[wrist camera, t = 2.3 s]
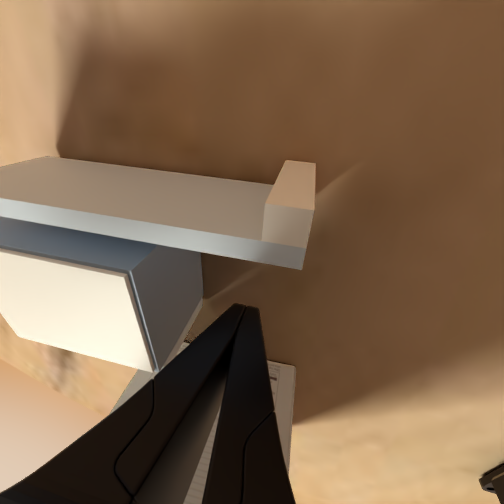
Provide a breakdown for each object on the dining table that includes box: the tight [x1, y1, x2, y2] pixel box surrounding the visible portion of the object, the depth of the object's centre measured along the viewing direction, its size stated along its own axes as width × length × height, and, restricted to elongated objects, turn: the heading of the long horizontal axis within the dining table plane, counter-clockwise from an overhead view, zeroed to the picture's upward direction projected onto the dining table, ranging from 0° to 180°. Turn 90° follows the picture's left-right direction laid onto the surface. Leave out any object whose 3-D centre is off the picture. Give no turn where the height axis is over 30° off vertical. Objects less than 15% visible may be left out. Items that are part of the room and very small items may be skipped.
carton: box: [0, 216, 204, 373], centre depth 11 cm, size 6×6×5 cm
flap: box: [0, 156, 316, 270], centre depth 8 cm, size 11×2×4 cm, turn 88°
